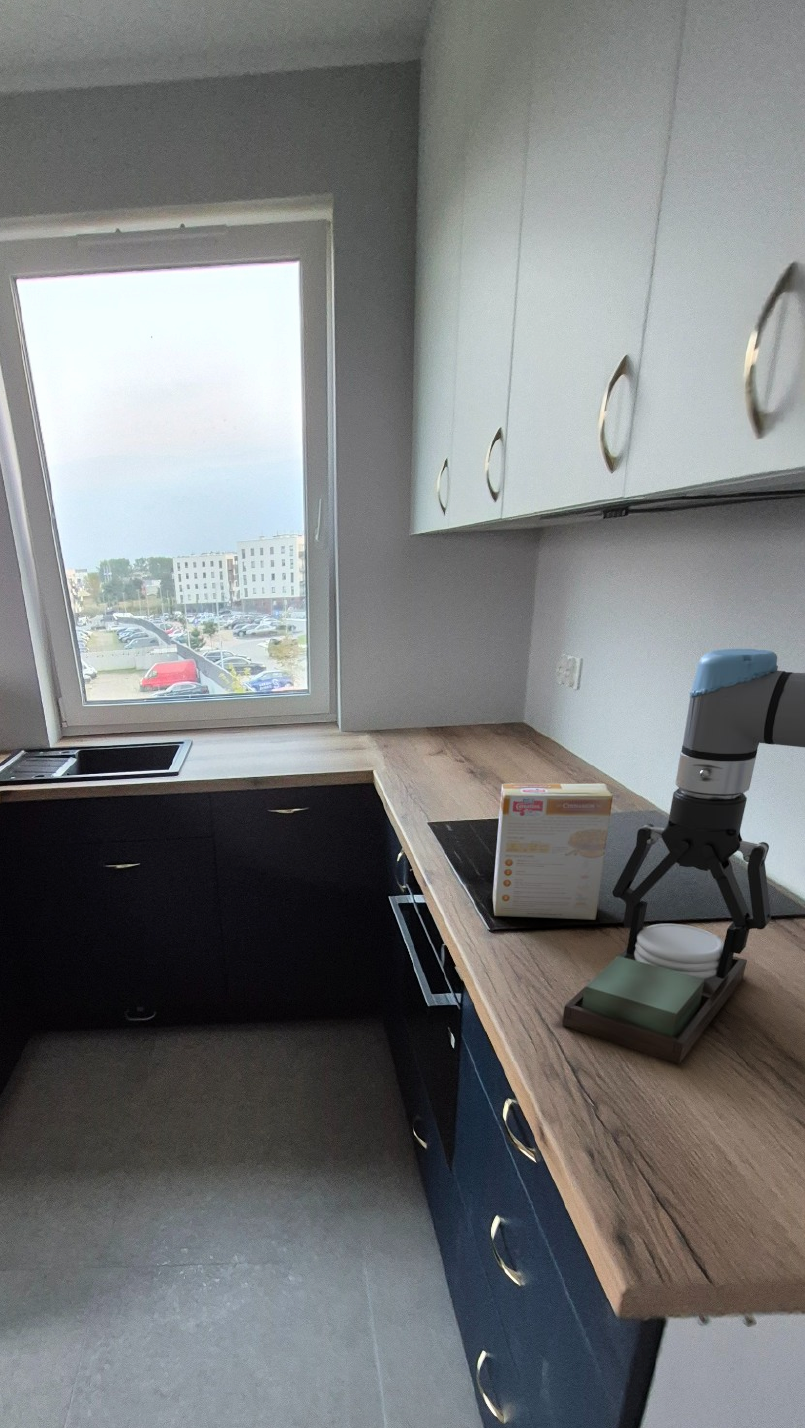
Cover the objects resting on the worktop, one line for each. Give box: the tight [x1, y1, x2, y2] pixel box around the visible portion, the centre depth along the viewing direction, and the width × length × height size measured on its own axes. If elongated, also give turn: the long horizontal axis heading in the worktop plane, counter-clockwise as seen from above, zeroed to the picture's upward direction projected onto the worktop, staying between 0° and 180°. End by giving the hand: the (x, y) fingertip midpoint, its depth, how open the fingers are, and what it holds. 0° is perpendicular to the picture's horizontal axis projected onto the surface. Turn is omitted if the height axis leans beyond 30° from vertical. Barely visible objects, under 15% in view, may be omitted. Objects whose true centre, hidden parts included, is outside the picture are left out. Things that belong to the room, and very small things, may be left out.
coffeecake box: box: [492, 783, 614, 921], centre depth 121 cm, size 15×7×20 cm, turn 77°
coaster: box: [634, 923, 724, 979], centre depth 101 cm, size 10×10×4 cm
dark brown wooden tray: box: [561, 947, 748, 1065], centre depth 98 cm, size 13×25×5 cm, turn 137°
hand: (676, 961), depth 102 cm, fingers closed on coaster, 10 cm apart
